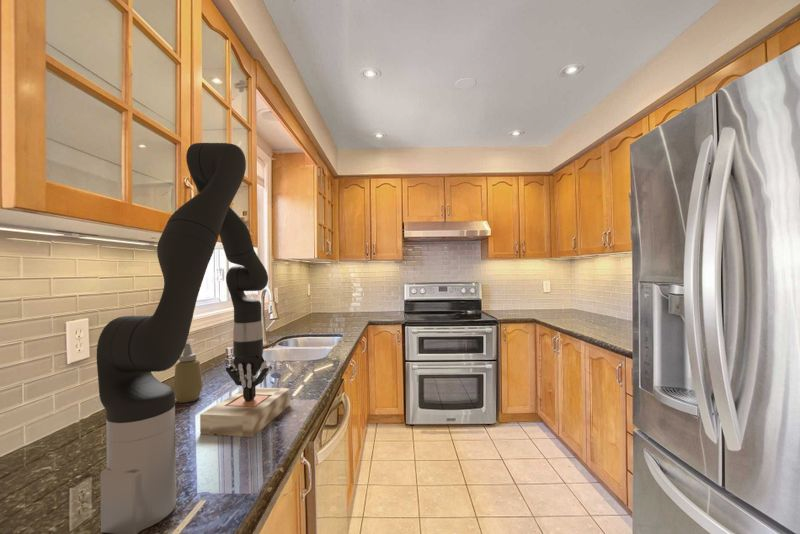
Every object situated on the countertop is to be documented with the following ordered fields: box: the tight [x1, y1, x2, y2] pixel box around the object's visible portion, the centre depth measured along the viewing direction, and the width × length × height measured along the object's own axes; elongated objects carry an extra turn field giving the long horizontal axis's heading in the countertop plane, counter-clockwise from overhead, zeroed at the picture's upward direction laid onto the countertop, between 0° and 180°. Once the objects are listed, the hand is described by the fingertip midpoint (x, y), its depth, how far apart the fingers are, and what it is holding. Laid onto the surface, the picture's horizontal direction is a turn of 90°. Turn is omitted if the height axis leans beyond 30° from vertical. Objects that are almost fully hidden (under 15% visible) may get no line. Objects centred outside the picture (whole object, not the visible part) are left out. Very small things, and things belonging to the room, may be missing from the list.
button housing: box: [199, 386, 291, 438], centre depth 95 cm, size 20×14×5 cm
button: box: [228, 395, 269, 407], centre depth 95 cm, size 8×8×4 cm
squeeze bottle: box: [172, 342, 204, 404], centre depth 110 cm, size 8×8×18 cm
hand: (249, 400), depth 95 cm, fingers closed
